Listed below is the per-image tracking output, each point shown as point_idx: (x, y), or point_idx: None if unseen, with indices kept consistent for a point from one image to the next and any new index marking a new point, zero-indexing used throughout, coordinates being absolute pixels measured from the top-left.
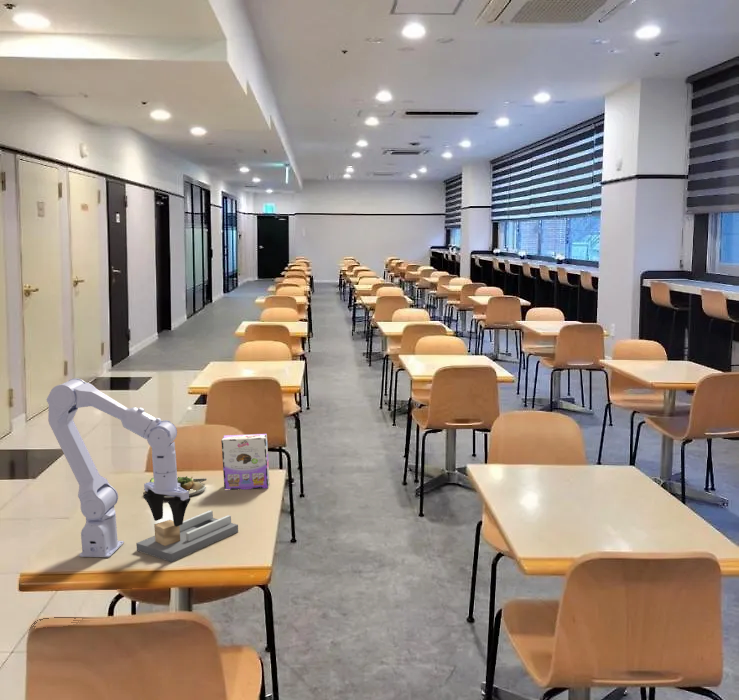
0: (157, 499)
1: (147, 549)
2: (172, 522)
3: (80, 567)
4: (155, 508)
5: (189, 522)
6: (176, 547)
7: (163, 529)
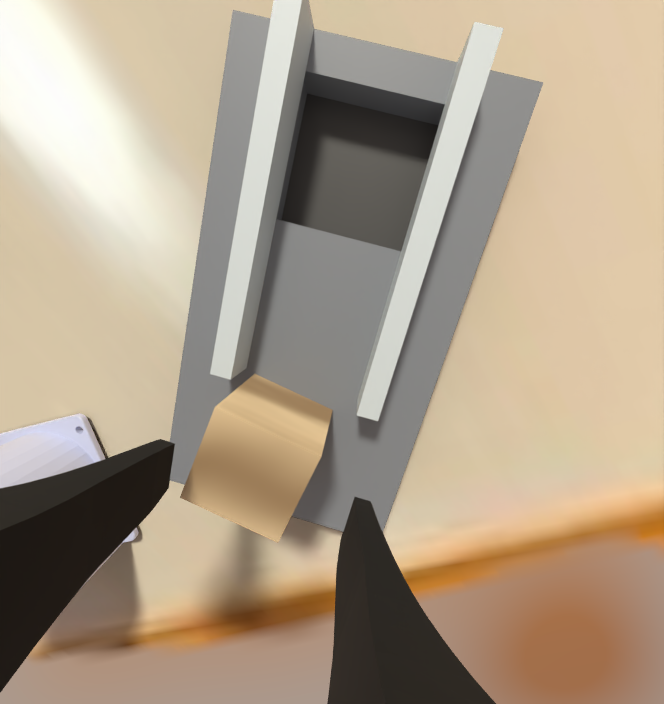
0: (15, 601)
1: None
2: (264, 447)
3: (116, 605)
4: (96, 551)
5: (262, 232)
6: (360, 479)
7: (278, 538)
